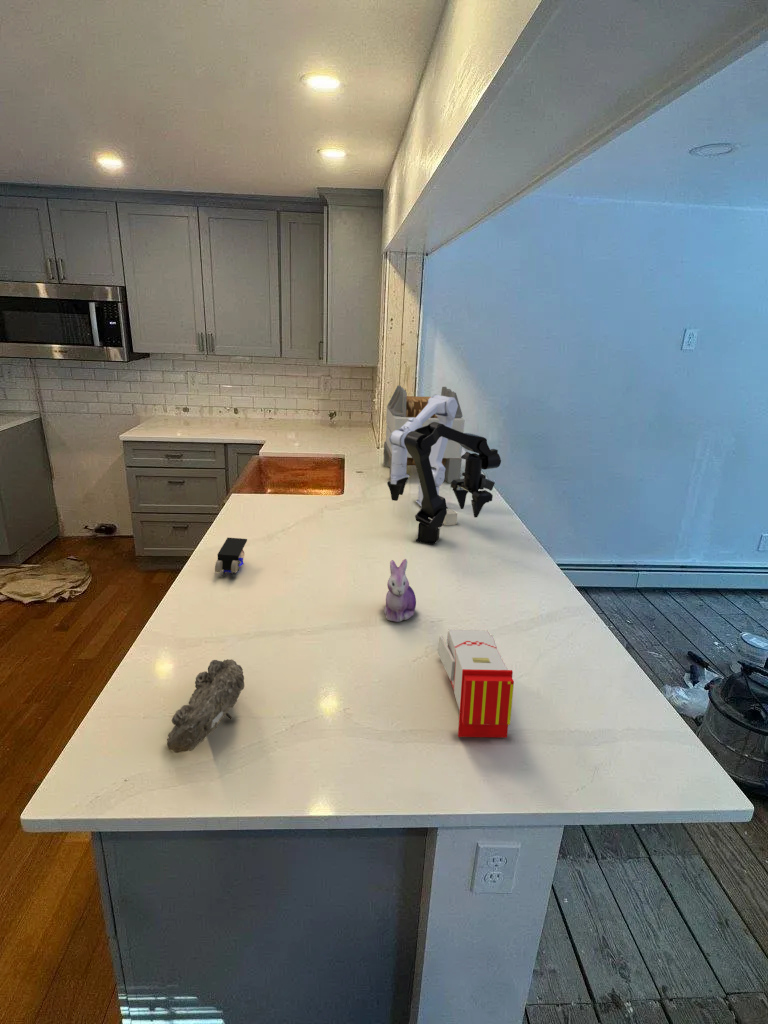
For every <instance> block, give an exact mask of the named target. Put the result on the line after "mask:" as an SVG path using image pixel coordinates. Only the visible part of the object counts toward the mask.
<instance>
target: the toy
mask: <svg viewBox="0 0 768 1024" xmlns="http://www.w3.org/2000/svg"><path fill="white" fill-rule="evenodd" d="M446 640H447V643H446V641H445V639H444V636H443V635H442V634H439V637H438V646H437V656H438V657H439V659H440V661H441V663H442V666H443V668H444V670H445V672H446V674H447V677H448V679H449V681H450V684H451V687H452V690H453V693H454V697H455V701H456V705H457V708H458V711H459V714H458V715H459V716H458V730H457V731H458V732H457V737H458V738H508V731H509V726H510V725H511V717H512V707H513V697H514V696H513V695H514V684H515V680H514V679H513V673H514V671H513V670H512V669H508V667H507V665H506V662H505V661H504V659H503V658H502V655H501V653H500V651H499V649H498V647H497V643H496V639H495V637H494V635H493V634H491V632H490V631H489V629H467V628H466V629H465V628H463V629H461V628H460V629H459V628H448V630H447V639H446Z"/></svg>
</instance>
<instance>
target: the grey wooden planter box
mask: <svg viewBox="0 0 768 1024" xmlns="http://www.w3.org/2000/svg"><path fill="white" fill-rule="evenodd" d="M440 393H441V394H440V396H446V397H454V398H455V399H456V401H457V404H458V407H457V411H456V414H455V418H454V420H453V424H452V427H451V428H452V429H455V430H457V431H460V432H462V433H465V432H464V431H465V430H464V429H465V419H464V418H463V411H462V408H461V405H460V402H459V398H458V395H457V392H455V391H453V390H452V389H451V388H447V386H442V387H441V392H440ZM407 394H408V393H407V390H406V389H404V388H403V387H402V385H399V384H398V385H397V386H396V388H395V390H394V392H393V394H392V395H391V398H390V400H389V402H388V404H387V405H386V413H385V414H386V415H385V423H386V428H385V438H384V442H383V466H384V467H388V468H389V475H388V476H389V477H388V478H389V481H391V476H390V474H391V464H392V448H391V444H390V442H389V438H390V435H391V433H392V432H393V431H395V430H399V429H400V428H401V427H402V426H403V425H404V424H405V423H406V422H407V421H408V419H409V418H412V417H414V418H416V417H417V416H418V414H419V413H420V412H421V411H422V410H423V409H424V408H425V406H426V405H427V404H428V399H430V398H431V396H415V395H414V396H413V395H412V396H411V395H407ZM432 422H438V423H439V419H438V417H437V416H436V415H435V414H434V415H433V416H431V417H430V418H429V419H428V420H427V421H425V422H424V423H423V424H422V427H424V426H427V425H429V424H430V423H432ZM431 448H432V446H431ZM462 453H463V447H462V446H461V445H460V444H459V443H457V442H455V441H452V440H449V439H448V441H447V445H446V448H445V452H444V455H443V459H442V464H443V466H444V467H445V478H444V480H445V481H446V482H447V483H449V484H451V482H452V481H453V480H455V479H461V475H462V461H463V459H462V458H461V456H462ZM407 466H411V467H412V466H413V467H416V466H415V462H414V459H413V458H412V456H411V455H410V454H409V452H408V451H407Z"/></svg>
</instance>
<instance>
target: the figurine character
mask: <svg viewBox="0 0 768 1024" xmlns="http://www.w3.org/2000/svg"><path fill="white" fill-rule="evenodd" d="M247 542H248V538H240V537H226V539H225V541H224V543H223V544H222V546H221V547H220V549H219V551H218V552H217V560H216V562H215V564H214V572H215V573H221V577H222V578H224V577H225V576H226V574H227V573H230V574H231V573H232V574H231V578H234V577H235V575H236V573H237V572H239V571H240V567H242V566H243V565H244V564H245V562H244V558H245V551H244V547H245V546H246V544H247Z"/></svg>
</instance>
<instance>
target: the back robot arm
mask: <svg viewBox="0 0 768 1024" xmlns="http://www.w3.org/2000/svg"><path fill="white" fill-rule="evenodd" d="M430 397H431V398H430V399H428V404H427V405H426V406H425V408H424V409H423V410H422V411H421V412H420V413H419V414H418V416H417V417H416V418H414V417H412V418H409V419H408V421H407V422H406V423H405V424H404V425H403V426H402V427H401V428H400V429H399V430H395V431H393V432H392V433H391V435H390V438H389V442H390V444H391V448H392V464H391V474H390V473H389V475H390V476H391V480H388V481H387V482H386V483H387V484H386V485H387V487H388V489H389V492H390V497H391V501H395V502H397V501H398V500H399V497H400V496H403V494H404V491H405V487H406V484H407V482H408V480H409V478H410V474H409V473H408V474H407V468H408V467H407V448H406V446H405V444H404V438H405V437H406V435H407V434H408V433H409V432H411V431H414V430H416V429H418V428H421V427H422V424H423V423H424V422H425V421H427V420H428V419H429V418H430V417H431V416H433V415H434V414H435V415H436V416H437V417H438V419H439V423H441V424H444V425H445V426H447V427H450V428H451V427H452V424H453V420H454V418H455V414H456V411H457V407H458V404H457V401H456V399H455V398H454V397H446V396H441V394H432V395H431V396H430ZM447 441H448V439H447V438H444V437H440V438H439V439H438V441H437V442H436V443H435V444H434V445H433V446H432V448H431V453H430V456H429V460H430V464H431V469H432V473H433V477H434V481H435V485H436V490H437V494H438V495H439V496H440V486H442V484H443V483H444V481H445V467H444V466H443V464H442V459H443V455H444V452H445V448H446V445H447ZM417 478H418V479H419V477H418V476H417ZM417 492H418V493H417V499H416V500H415V502H416V504H418V506H420V507H421V508H422V506H421V502H422V499H423V493H422V489H421V485H420V484H419V486H418V491H417Z"/></svg>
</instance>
